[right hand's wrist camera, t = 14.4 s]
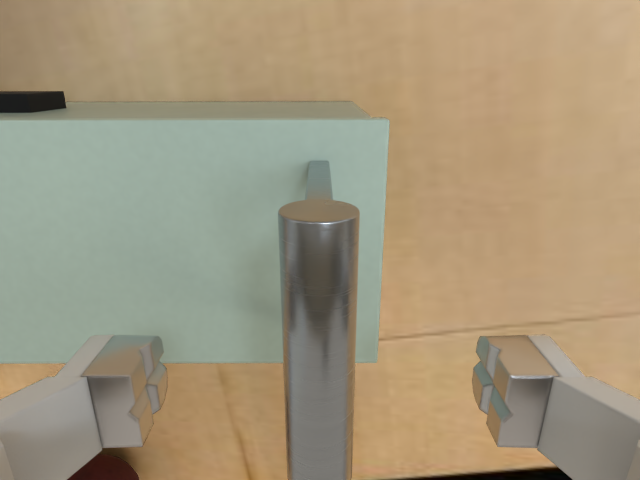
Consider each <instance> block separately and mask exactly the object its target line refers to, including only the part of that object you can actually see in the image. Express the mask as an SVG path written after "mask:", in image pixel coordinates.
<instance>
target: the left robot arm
mask: <svg viewBox="0 0 640 480" xmlns="http://www.w3.org/2000/svg"><path fill="white" fill-rule="evenodd" d="M64 108H66V103H65V98H64V93H63V91H22V92H0V113H33V112H41V111H48V110H56V109H64Z"/></svg>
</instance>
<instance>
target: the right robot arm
mask: <svg viewBox="0 0 640 480" xmlns="http://www.w3.org/2000/svg"><path fill="white" fill-rule="evenodd" d="M163 353H164V349H163V344H162V339H161V338H160V337H159V336H148V335H94V336H90V337H89V339H88V340H87V341H86V342H85V343H84V344H83V345H82V346H81V348H80V349H79V350H78V351H77V352H76V353H75V354H74V355H73V357H72V358H71V359H70V360H69V361H68V362H67V363H66V364H65V366H64V367H63V368H62V369H61V370H60V371H59V372H58V373H57V375H56V376H55V377H46V378H44V379H42V380H40V381H38V382H36V383H34V384H32V385H30V386H28V387H25V388H23V389H21V390H19V391H17V392H15V393H13V394H11V395H9V396H7V397H5V398H3V399H1V400H0V480H67V479H68V478H69V477H71V476H72V475H73V474H74V473H75V472H77V471H78V470H79V469H80V468H81V467H83V466H84V465H85V464H86V463H87V462H89V461H90V460H91V459H92V458H93V457H95V456H96V455H97V454H98V453H99V452H101V451H102V448H117V447H143V445H144V442H145V440H146V438H147V436H148V434H149V432H150V430H151V428H152V426H153V424H154V423H153V416H152V415H153V414H154V413H156V412H157V411H159V410H160V409H161V407H162V405H163V403H164V400H165V396H166V391H167V378H168V377H167V369H166V367H165V366H164V365H163V364H162V363H161V362H160V361H159V360H160V358H161V356H162V355H163ZM476 353H477V355H478V356H479V358H480V360H481V361H480V362H479V363H478V364H477V365H476V366H475V367H474V369H473V378H472V383H473V393H474V397H475V400H476V403H477V405H478V407H479V409H480V410H481V411H483V412H484V413H486V414H487V415H488V416H487V423H486V424H487V426H488V428H489V430H490V432H491V434H492V436H493V438H494V440H495V443H496V445H497V447H522V448H538V449H537V450H538V451H540V452H541V453H542V454H543V455H544V456H546V457H547V458H548V459H549V460H550V461H551V462H553V463H554V464H555V465H556V466H557V467H559V468H560V469H561V470H562V471H563V472H565V473H566V474H567V475H568V476H569V477H571V478H572V479H573V480H640V400H639V399H637V398H635V397H633V396H631V395H629V394H627V393H625V392H623V391H621V390H619V389H616V388H614V387H612V386H610V385H608V384H606V383H604V382H602V381H600V380H598V379H596V378H594V377H585V376H584V375H583V374H582V372H581V371H580V370H579V369H578V368H577V367H576V366H575V365H574V363H573V362H572V361H571V360H570V359H569V358H568V357H567V356H566V354H565V353H564V352H563V351H562V350H561V349H560V348H559V347H558V345H557V344H556V343H555V342H554V341H553V340H552V339H551V338H550V337H549V336H547V335H545V334H543V335H519V336H480V338H479V340H478V342H477V348H476Z"/></svg>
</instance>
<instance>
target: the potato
mask: <svg viewBox="0 0 640 480" xmlns="http://www.w3.org/2000/svg"><path fill="white" fill-rule="evenodd" d="M67 480H139V477H138V475H137V473H136V472H135V471H134V470H133V468H132V467H131V466H130V465H129V464H128V463H127V462H125V461H124V460H122V459H120V458H119V457H115V456H112V455H103V454H97V455H96V456H95V457H93V458H92V459H91V460H90V461H89V462H87V463H86V464H85V465H84V466H83V467H81V468H80V469H79V470H78V471H77V472H75V473H74V474H73V475H72V476H71V477H69V478H68V479H67Z"/></svg>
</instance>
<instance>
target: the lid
mask: <svg viewBox="0 0 640 480" xmlns="http://www.w3.org/2000/svg"><path fill="white" fill-rule="evenodd" d="M389 123H390V121H389V120H388V119H387V118H385V117H368V118H0V363H67V362H68V361H69V360H70V359H71V358H72V357H73V355H74V354H75V353H76V352H77V351H78V350H79V349H80V348H81V346H82V345H83V344H84V343H85V342H86V341H87V340H88V339H89V337H90V336H94V335H148V336H159V337H160V338H161V339H162V344H163V349H164V353H163V355H162V356H161V358H160V360H159V361H160V362H161V363H283V368H284V396H285V423H286V450H287V477H288V480H351V478H352V450H353V417H354V384H355V363H377V358H378V338H379V319H380V299H381V280H382V260H383V241H384V221H385V202H386V182H387V162H388V143H389Z"/></svg>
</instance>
